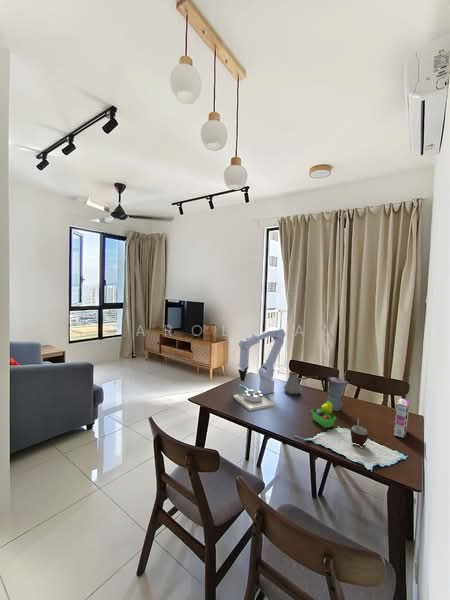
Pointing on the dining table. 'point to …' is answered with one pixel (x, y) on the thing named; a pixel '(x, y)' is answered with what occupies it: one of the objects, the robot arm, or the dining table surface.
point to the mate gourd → (359, 434)
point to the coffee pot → (294, 383)
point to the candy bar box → (401, 417)
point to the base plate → (253, 406)
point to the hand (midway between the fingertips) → (243, 378)
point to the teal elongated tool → (251, 394)
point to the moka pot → (335, 391)
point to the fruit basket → (324, 415)
